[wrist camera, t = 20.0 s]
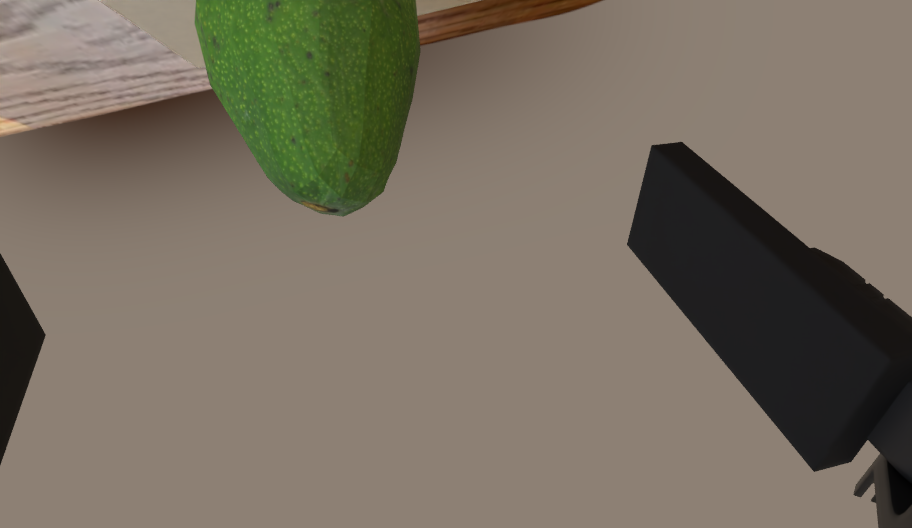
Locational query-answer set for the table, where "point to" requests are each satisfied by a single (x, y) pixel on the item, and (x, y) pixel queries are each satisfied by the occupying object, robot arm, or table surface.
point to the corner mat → (173, 21)
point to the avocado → (315, 90)
